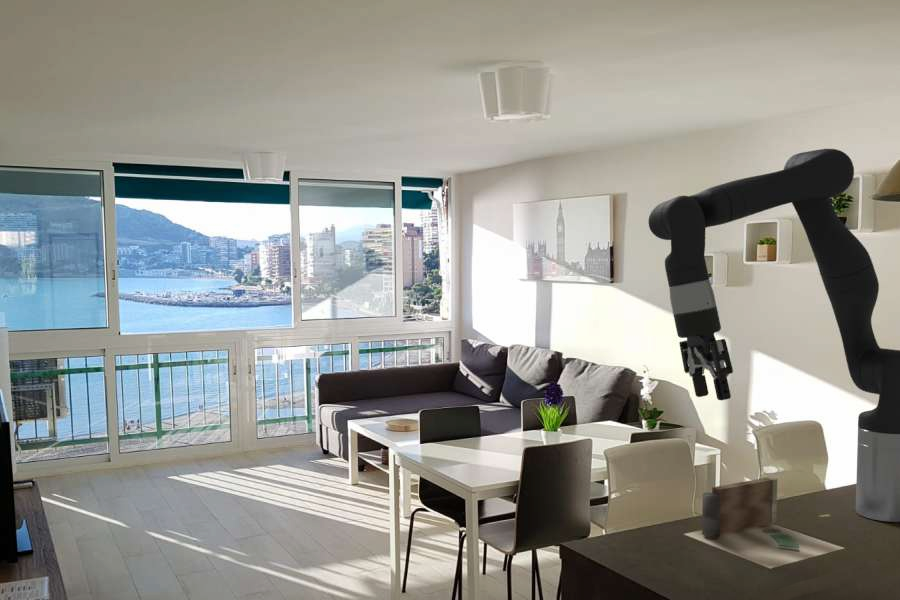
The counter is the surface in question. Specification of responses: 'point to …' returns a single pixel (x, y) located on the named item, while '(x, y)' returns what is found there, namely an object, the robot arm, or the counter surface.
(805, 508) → the counter surface
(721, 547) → the beige flat square sheet
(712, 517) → the brown wood panel
